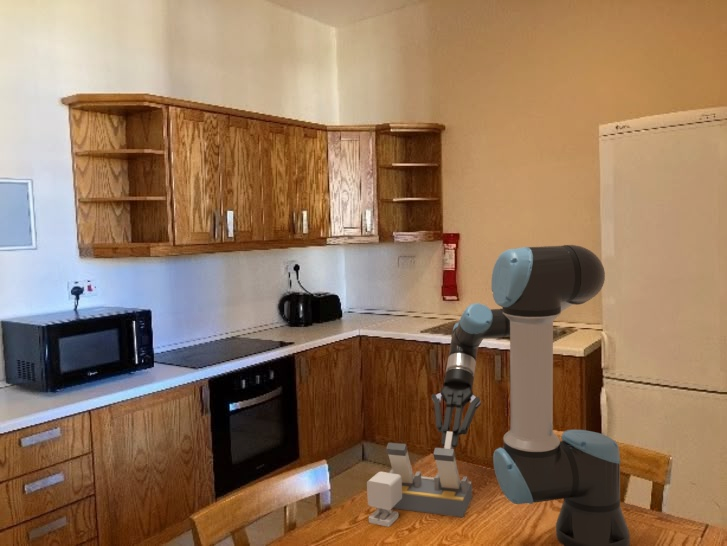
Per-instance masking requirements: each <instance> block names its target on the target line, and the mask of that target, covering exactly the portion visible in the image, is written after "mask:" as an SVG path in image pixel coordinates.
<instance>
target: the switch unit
mask: <svg viewBox="0 0 727 546" xmlns="http://www.w3.org/2000/svg"><path fill="white" fill-rule="evenodd" d="M388 473H393V470H392V468H391V469H390V470H389V472H388ZM393 474H394V473H393ZM413 476H414V485H413V484H405V483H402V499H401V500H400V501H399V502H398V503H397V504H396V505H395V506H394V507H393V508H392V509H396V510H397V509H398V510H404V511H412V512H420V513H426V514H435V515H444V516H450V517H459V518H464V516H465V514H466V512H467V510H468V508H469V506H470V504H471V501H472V499H473V483H472V481H470V480H469V479H468V476H467V475H466V476H465V475H463V477H462V479H460V484H461V488H462V490H457V489H449V488H441V487H440V483H441V482H440V478H439V473H438V472H437V473H436V475H435V476H434V477H433V476H432V477H430V476H425V475H424V476H422V471H417V470H416V472H415V474H413Z"/></svg>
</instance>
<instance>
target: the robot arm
mask: <svg viewBox="0 0 727 546" xmlns="http://www.w3.org/2000/svg"><path fill="white" fill-rule="evenodd" d="M605 278H606V272H605V268H604V265H603V263H602V261H601V259H600V258H599V257H598V256H597V255H596V254H595V253H594V252H593V251H592V250H590V249H588V248H586V247H583V246H580V245H575V244H564V245H550V246H549V245H548V246H547V245H546V246H545V245H544V246H522V247H518V248H509V249H506V250H504V251H503V252H502V253H500V255H499V256H498V258H497V259H496V261H495V263H494V266H493V269H492V274H491V292H492V293H493V294H492V297H493V300H494V302H495V304H496V305H497V306H499V307H502V308H493V309H490V308H489V307H488V306H487V305H485V304H482V303H479V302H477V303H471V304H469V305H468V306H467V307H466V308H465V309H464V311H463V313H462V314H461V316H460V319H459V321H458V322H456V323H455V324H454V325H453V329H452V331H451V334H450V337H451V339H450V346H449V351H448V352H449V353H448V357H447V362H446V368H445V375H444V380H443V386H442V388H441V390H440V392H439V393H437V394H435V393H432V394H431V399H432V401H433V404H434V413H435V414H434V416H435V427H436V429H437V431H438V433H442V434H441V435H442V436H441V445H442V447H443V448H444V449H454V448H458V443H459V438H460V435H467V434H468V431H469V429H470V425H471V423H472V421H473V418H474V417H475V415H476V411H477V409H478V408H479V407H480V406H481V405H482V402H481V398H480V397H479V396H475V395H474V391H473V386H474V381H475V380H474V378H475V372H476V365H477V356H478V350H479V346H480V345H481V343H482V341H483V340H484V339H494V338H495V339H496V338H505V337H509V346H510V347H509V348H510V349H509V358H510V359H509V365H510V367H509V369H510V370H509V374H510V375H509V378H510V380H509V383H510V386H509V387H510V393H509V394H510V398H509V399H510V400H509V401H510V403H509V404H510V429H509V430H508V431H507V432H506V433H505V434H504V435H503V442H502V443H503V446H502V447H498V448H496V449H495V450H494V453H493V454H492V455H493V457H492V458H493V459H492V461H493V462H492V463H493V469H494V473H495V477H496V480H497V483H498V486H499V487H500V490H501V491H502V493H503V494H504V496H505V498H506V499H507V500H508V501H509V502H511V503H512V504H514V505H522V504H523V505H525V504H529V505H533V504H534V503H541V502H548V501H556V500H562V499H563V501H562V502H563V503H562V504H561V507H560V508H561V509H560V511H559V514H558V517H557V520H556V522H555V523H556V524H555V536H556V538H557V540H558V542H560V544H561V545H563V546H630V544H631V543H630V531H629V528H628V525H627V522H626V520H625V516H624V514H623V510H622V508H621V469H620V468H621V466H620V465H621V455H620V448H619V445H618V443H617V442H616V440H614V439H613V438H612V437H610V436H607V435H605V434H603V433H600V432H595V431H591V430H586V429H567V430H564V432H562V434H561V437H560V438H561V439H560V438H559V436H558V435H557V434H555V433H554V432H553V428H554V426H553V419H554V417H553V415H554V413H553V409H554V406H553V405H554V404H553V403H554V397H553V396H554V385H553V383H554V321H555V320H556V319H557V318H558V317H559V316H560V315H561V314H562V312H563V311H565V310H567V309H569V308H570V307H571V306H573V305H574V306H577V305H582V304H586V303H587V302H589V301H590V300H592V299H593V298H595V297H596V296H597V295H598V294H599V293H600V292H601V290H602V289H603V287H604V284H605V281H606V279H605ZM442 399H443V400H444V403H445V406H446V407H445V414H444V420H443V419H442V417H443V415H442V408H441V403H442ZM469 402H470V403H469ZM468 403H469V406H468V409H467V411H466V413H465V416H464V418H463V413H464V409H465V406H466V405H467V404H468ZM454 409H455V414H454V413H453V412H454ZM453 414H454V421H453V427H452V431H451V426H452V418H453ZM462 419H463V421H462Z"/></svg>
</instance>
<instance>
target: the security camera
mask: <svg viewBox="0 0 727 546" xmlns="http://www.w3.org/2000/svg"><path fill="white" fill-rule="evenodd" d="M366 495H367V496H366V497H367V505H368V506H369V507H371V508H376V510H375V511H373V513H371V514H370V515H369V516H368V523H369V524H373V525H379V526H383V527H388V528H389V527H391V526H392V524H394V522H395V521H397V519H398V518H399V511H397V510H396V511H395V510H392V509H394V508H393V507H394V506H395V505H396V504H397V503H398V502H399V501H400V500H401V499H402V480H401V476H400V475H399V474H393V473H389V472H385V471H378V472H377V473H376V474H375V475H373V476H372V477H371V478H370V479H369V480H367V481H366Z"/></svg>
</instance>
